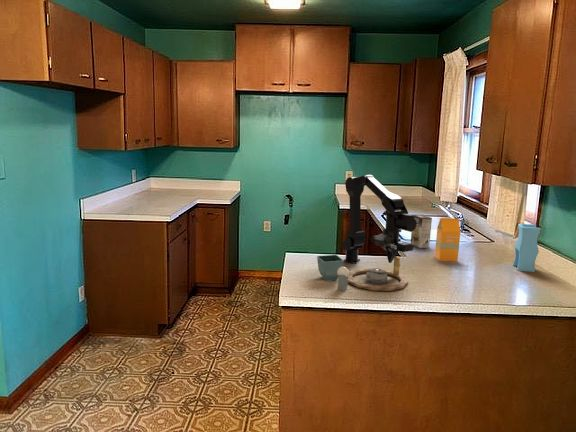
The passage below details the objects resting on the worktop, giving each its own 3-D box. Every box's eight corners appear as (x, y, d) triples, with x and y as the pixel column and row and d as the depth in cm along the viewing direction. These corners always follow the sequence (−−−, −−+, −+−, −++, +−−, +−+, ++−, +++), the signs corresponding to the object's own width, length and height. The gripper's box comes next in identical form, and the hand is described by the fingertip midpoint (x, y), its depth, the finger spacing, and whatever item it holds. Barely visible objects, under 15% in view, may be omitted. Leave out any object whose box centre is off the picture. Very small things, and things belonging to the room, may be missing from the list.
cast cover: (369, 277, 199) (370, 265, 198) (389, 280, 195) (389, 268, 194) (363, 282, 191) (364, 270, 190) (383, 286, 188) (384, 273, 187)
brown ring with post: (358, 267, 210) (359, 249, 208) (413, 276, 198) (414, 258, 197) (337, 283, 188) (338, 263, 187) (397, 294, 177) (399, 274, 175)
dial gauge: (338, 287, 185) (339, 264, 183) (349, 289, 183) (350, 266, 182) (336, 289, 183) (336, 266, 181) (346, 291, 181) (347, 268, 179)
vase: (535, 271, 210) (541, 228, 206) (516, 270, 211) (522, 227, 207) (530, 266, 217) (536, 224, 213) (512, 265, 219) (517, 223, 215)
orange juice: (457, 261, 224) (461, 220, 220) (439, 260, 224) (442, 219, 220) (452, 256, 231) (456, 216, 227) (434, 256, 232) (437, 216, 228)
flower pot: (323, 283, 190) (323, 261, 188) (316, 276, 198) (316, 255, 196) (343, 281, 192) (344, 260, 190) (335, 274, 200) (336, 254, 199)
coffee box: (409, 243, 255) (412, 214, 251) (420, 243, 256) (422, 214, 253) (419, 248, 246) (421, 217, 243) (429, 247, 248) (432, 217, 245)
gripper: (362, 224, 199) (360, 260, 202) (396, 233, 185) (393, 271, 188) (381, 222, 206) (379, 256, 209) (415, 230, 191) (412, 267, 194)
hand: (390, 262), depth 200 cm, fingers closed
